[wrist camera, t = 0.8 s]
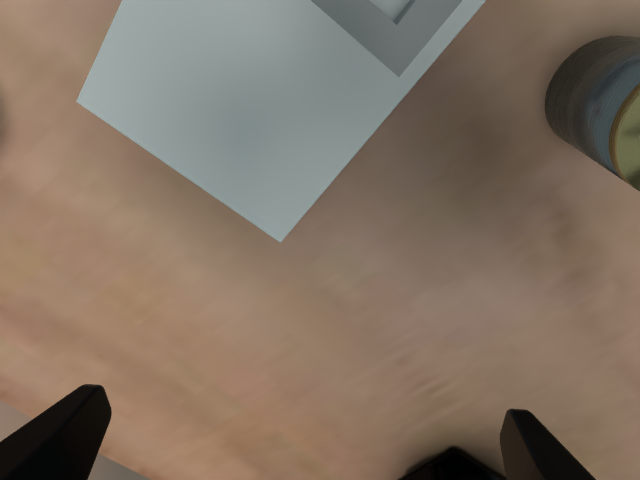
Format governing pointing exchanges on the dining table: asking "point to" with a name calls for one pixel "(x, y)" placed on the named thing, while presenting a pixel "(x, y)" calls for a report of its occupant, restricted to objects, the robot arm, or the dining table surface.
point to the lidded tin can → (600, 104)
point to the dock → (264, 88)
